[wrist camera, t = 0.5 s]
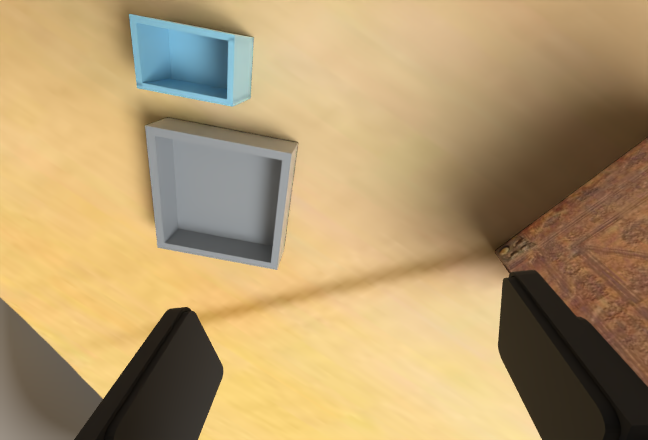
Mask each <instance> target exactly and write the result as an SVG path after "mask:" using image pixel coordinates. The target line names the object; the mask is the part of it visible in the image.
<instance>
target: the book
mask: <svg viewBox="0 0 648 440" xmlns="http://www.w3.org/2000/svg"><path fill="white" fill-rule="evenodd" d="M495 253H496V255H497V256H498V258H499V259H500V260H501V262H502V263H503V265H504V266H505V267H506V269H507V270H508V272H509V273H511V272H516V271H525V270H536V271H537V272H538V273H539V274H540V275H541V276H542V277H543V278H544V280H545V281H546V282H547V283H548V284H549V285H550V287H551V288H552V289H553V290H554V291H555V292H556V293H557V295H558V296H559V297H560V298H561V299H562V300H563V301H564V303H565V304H566V305H567V306H568V307H569V308H570V309H571V311H572V312H573V313H574V314H575V315H576V316H577V317H582V318H584V319H586V320H587V321H588V322H590V323H591V324H592V325H593V326H594V328H595V329H596V330H597V331H598V332H599V333H600V334H601V335H602V336H603V338H604V339H605V340H606V341H607V342H608V343H609V344H610V345H611V346H612V348H613V349H614V350H615V351H616V352H617V353H618V354H619V355H620V356H621V358H622V359H623V360H624V361H625V362H626V363H627V364H628V365H629V366H630V368H631V369H632V370H633V371H634V372H635V373H636V374H637V375H638V376H639V378H640V379H641V380H642V381H643V382H644V383H645V384H646V385H647V386H648V137H647V138H646V139H645V140H643V141H642V142H640V143H639V144H638V145H636V146H635V147H634V148H632V149H631V150H630V151H628V152H627V153H626V154H624V155H623V156H622V157H620V158H619V159H618V160H616V161H615V162H614V163H612V164H611V165H610V166H608V167H607V168H606V169H604V170H603V171H602V172H600V173H599V174H598V175H596V176H595V177H593V178H592V179H591V180H589V181H588V182H587V183H585V184H584V185H583V186H581V187H580V188H579V189H577V190H576V191H575V192H573V193H572V194H571V195H569V196H568V197H567V198H565V199H564V200H563V201H561V202H560V203H559V204H557V205H556V206H555V207H553V208H552V209H551V210H549V211H548V212H547V213H545V214H544V215H542V216H541V217H540V218H538V219H537V220H536V221H534V222H533V223H532V224H530V225H529V226H528V227H526V228H525V229H524V230H522V231H521V232H520V233H518V234H517V235H516V236H514V237H513V238H512V239H510V240H509V241H508V242H506V243H505V244H504V245H502V246H501V247H500V248H498V249H497V250H496V251H495Z"/></svg>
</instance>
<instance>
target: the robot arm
mask: <svg viewBox="0 0 648 440" xmlns="http://www.w3.org/2000/svg"><path fill="white" fill-rule="evenodd" d="M498 349H499V353H500V356H501V359H502V361H503V363H504V365H505V367H506V369H507V371H508V373H509V375H510V377H511V379H512V381H513V383H514V385H515V387H516V389H517V391H518V393H519V395H520V397H521V399H522V401H523V403H524V405H525V407H526V409H527V411H528V413H529V415H530V417H531V419H532V420H533V422H534V424H535V426H536V428H537V430H538V432H539V434H540V436H541V438H542V440H648V386H647V385H646V384H645V383H644V382H643V381H642V380H641V379H640V378H639V376H638V375H637V374H636V373H635V372H634V371H633V370H632V369H631V368H630V366H629V365H628V364H627V363H626V362H625V361H624V360H623V359H622V358H621V356H620V355H619V354H618V353H617V352H616V351H615V350H614V349H613V348H612V346H611V345H610V344H609V343H608V342H607V341H606V340H605V339H604V338H603V336H602V335H601V334H600V333H599V332H598V331H597V330H596V329H595V328H594V326H593V325H592V324H591V323H590V322H588V321H587V320H586V319H584V318H582V317H577V316H576V315H575V314H574V313H573V312H572V311H571V309H570V308H569V307H568V306H567V305H566V304H565V303H564V301H563V300H562V299H561V298H560V297H559V296H558V295H557V293H556V292H555V291H554V290H553V289H552V288H551V287H550V285H549V284H548V283H547V282H546V281H545V280H544V278H543V277H542V276H541V275H540V274H539V273H538V272H537V271H536V270H525V271H516V272H511V273H510V274H509V278H504V279H503V285H502V299H501V312H500V326H499V340H498ZM222 377H223V366H222V364H221V362H220V360H219V358H218V356H217V354H216V352H215V350H214V348H213V346H212V344H211V342H210V340H209V338H208V336H207V334H206V332H205V330H204V328H203V327H202V325H201V323H200V321H199V319H198V317H197V315H196V313H195V312H194V311H191V309H190V308H188V307H182V308H173V309H169V310H167V311H166V312H165V314H164V315H163V316H162V318H161V319H160V321H159V322H158V323H157V325H156V326H155V328H154V329H153V330H152V332H151V333H150V335H149V336H148V337H147V339H146V340H145V342H144V343H143V344H142V346H141V347H140V349H139V350H138V351H137V353H136V354H135V356H134V357H133V358H132V360H131V361H130V363H129V364H128V365H127V367H126V368H125V369H124V371H123V372H122V374H121V375H120V376H119V378H118V379H117V381H116V382H115V383H114V385H113V386H112V388H111V389H110V390H109V392H108V393H107V395H106V396H105V397H104V399H103V401H102V402H101V403H100V404H99V406H98V407H97V409H96V410H95V411H94V413H93V414H92V416H91V417H90V418H89V420H88V421H87V423H86V424H85V425H84V427H83V428H82V429H81V431H80V432H79V434H78V435H77V436H76V438H75V439H74V440H198V438H199V435H200V433H201V430H202V428H203V425H204V423H205V420H206V418H207V415H208V412H209V410H210V407H211V405H212V402H213V400H214V397H215V395H216V392H217V390H218V387H219V385H220V382H221V380H222Z"/></svg>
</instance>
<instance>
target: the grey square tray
mask: <svg viewBox="0 0 648 440" xmlns="http://www.w3.org/2000/svg"><path fill="white" fill-rule="evenodd" d="M145 130H146V140H147V150H148V159H149V169H150V178H151V188H152V197H153V207H154V217H155V226H156V236H157V245H158V248H163V249H168V250H173V251H179V252H184V253H189V254H195V255H200V256H206V257H211V258H216V259H222V260H227V261H232V262H238V263H243V264H249V265H254V266H259V267H265V268H270V269H275V270H277V269H278V266H279V263H280V260H281V257H282V254H283V251H284V246H285V238H286V231H287V223H288V216H289V208H290V201H291V193H292V186H293V178H294V171H295V163H296V156H297V148H298V142H293V141H288V140H282V139H277V138H272V137H267V136H262V135H256V134H251V133H246V132H241V131H236V130H231V129H225V128H220V127H215V126H210V125H205V124H199V123H194V122H189V121H184V120H179V119H173V118H168V117H167V118H164V119H162V120H159V121H156V122H153V123H151V124H148V125H145Z"/></svg>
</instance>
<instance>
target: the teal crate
mask: <svg viewBox="0 0 648 440" xmlns="http://www.w3.org/2000/svg"><path fill="white" fill-rule="evenodd" d="M129 19H130V28H131V37H132V46H133V56H134V65H135V74H136V83H137V88H139V89H145V90H150V91H155V92H160V93H165V94H170V95H176V96H181V97H186V98H191V99H196V100H201V101H207V102H212V103H217V104H222V105H227V106H232V107H233V106H235V105H237V104H239V103H241V102H244V101H246V100H248V99H250V97H251V78H252V60H253V41H254V37H249V36H244V35H239V34H233V33H228V32H223V31H218V30H213V29H208V28H203V27H198V26H193V25H188V24H183V23H178V22H173V21H168V20H162V19H156V18H150V17H144V16H138V15H132V14H129Z"/></svg>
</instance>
